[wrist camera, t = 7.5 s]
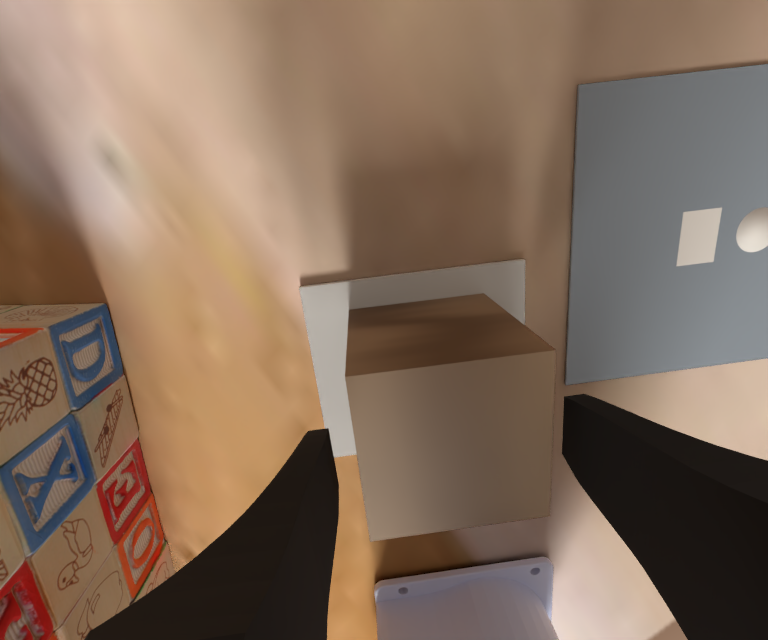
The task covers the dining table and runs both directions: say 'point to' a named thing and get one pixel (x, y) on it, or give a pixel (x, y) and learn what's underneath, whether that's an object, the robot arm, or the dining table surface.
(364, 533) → the dining table surface
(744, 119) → the blue-gray square plate
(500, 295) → the rubber mat
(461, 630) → the robot arm
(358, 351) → the walnut block
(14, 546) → the stack of blocks
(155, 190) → the dining table surface
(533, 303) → the dining table surface
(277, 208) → the dining table surface
